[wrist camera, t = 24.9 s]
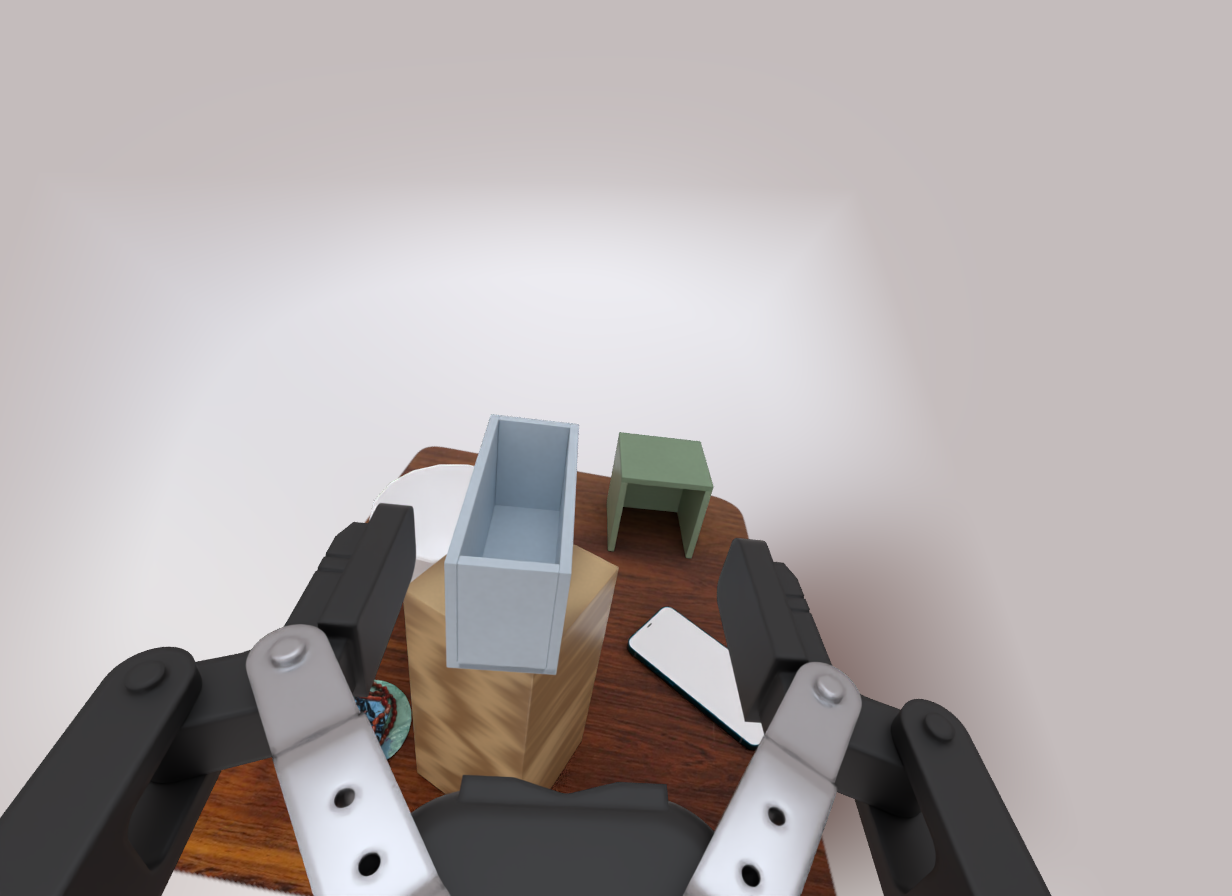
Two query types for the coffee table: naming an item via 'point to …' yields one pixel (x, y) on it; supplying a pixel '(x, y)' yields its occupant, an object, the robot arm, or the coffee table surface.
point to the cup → (430, 507)
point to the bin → (513, 549)
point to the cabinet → (659, 483)
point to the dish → (387, 715)
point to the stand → (503, 688)
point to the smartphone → (695, 670)
